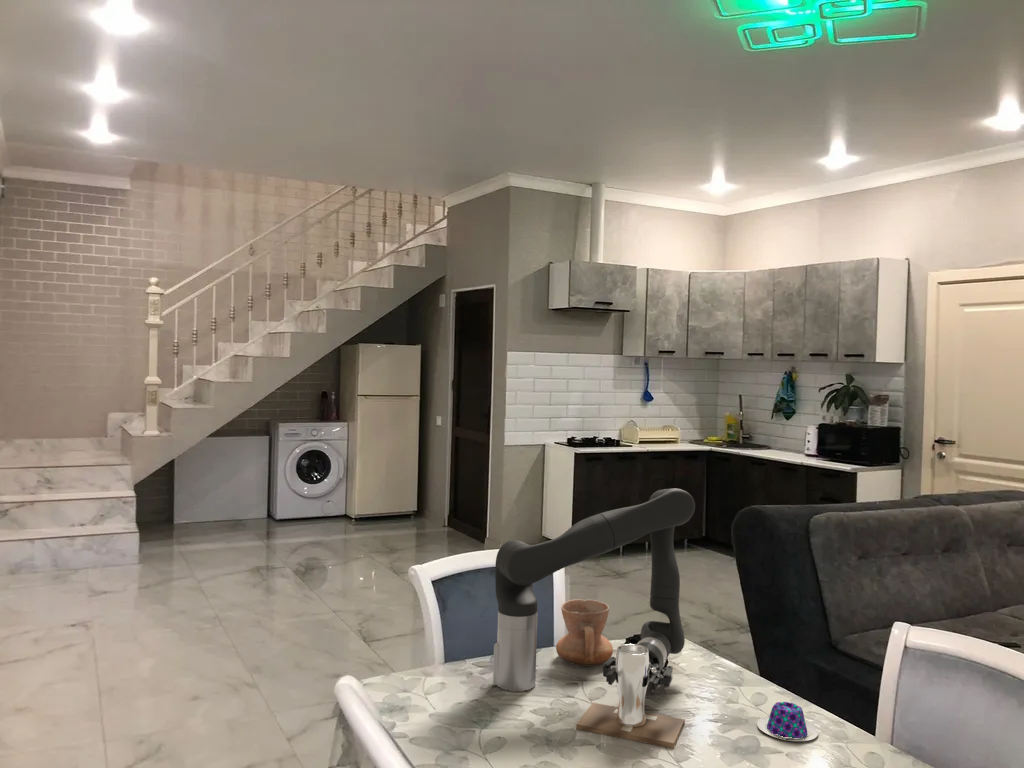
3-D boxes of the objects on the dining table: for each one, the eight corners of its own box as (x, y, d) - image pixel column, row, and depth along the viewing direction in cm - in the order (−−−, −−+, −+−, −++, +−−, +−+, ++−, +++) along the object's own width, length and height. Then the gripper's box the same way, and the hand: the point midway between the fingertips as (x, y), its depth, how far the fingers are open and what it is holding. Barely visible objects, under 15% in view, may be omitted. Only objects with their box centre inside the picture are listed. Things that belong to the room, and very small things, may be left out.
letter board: (576, 728, 164) (576, 723, 164) (592, 707, 175) (592, 702, 175) (673, 748, 156) (673, 742, 156) (684, 724, 167) (684, 719, 167)
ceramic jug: (554, 648, 213) (555, 595, 212) (609, 649, 212) (610, 596, 212) (557, 674, 195) (558, 617, 194) (617, 675, 194) (618, 618, 194)
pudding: (828, 745, 160) (828, 719, 160) (769, 744, 160) (769, 718, 160) (803, 719, 172) (804, 695, 172) (748, 719, 172) (749, 694, 172)
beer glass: (647, 730, 162) (649, 656, 162) (612, 726, 163) (614, 653, 163) (648, 716, 168) (650, 645, 168) (615, 712, 170) (617, 642, 170)
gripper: (616, 637, 181) (596, 659, 166) (679, 646, 176) (665, 670, 161) (615, 670, 182) (596, 695, 166) (678, 680, 176) (664, 708, 161)
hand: (630, 683), depth 164 cm, fingers open, 8 cm apart
